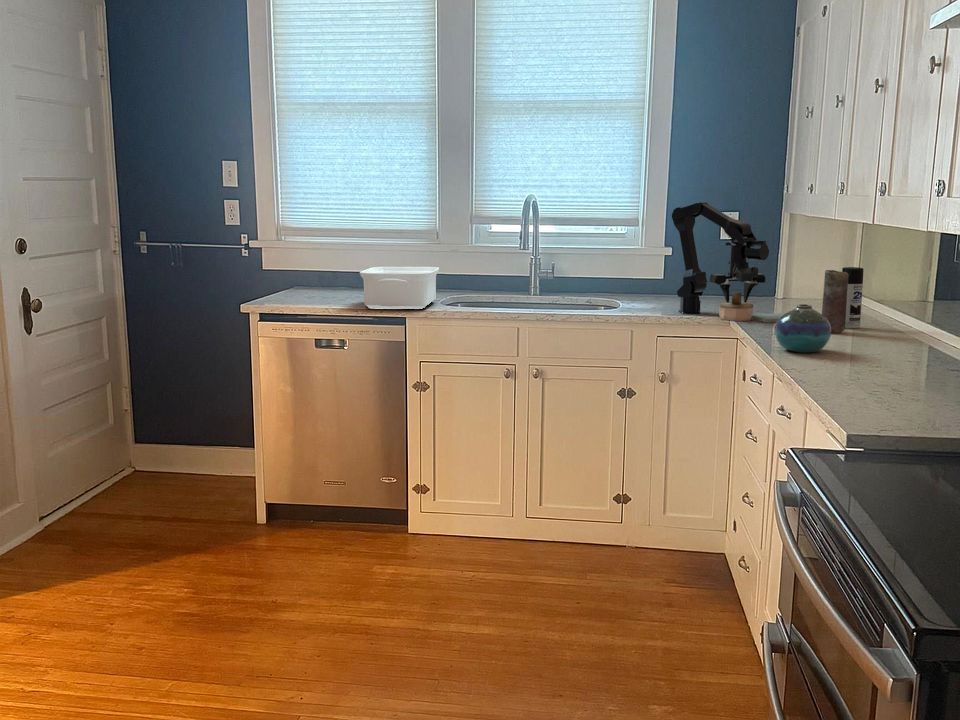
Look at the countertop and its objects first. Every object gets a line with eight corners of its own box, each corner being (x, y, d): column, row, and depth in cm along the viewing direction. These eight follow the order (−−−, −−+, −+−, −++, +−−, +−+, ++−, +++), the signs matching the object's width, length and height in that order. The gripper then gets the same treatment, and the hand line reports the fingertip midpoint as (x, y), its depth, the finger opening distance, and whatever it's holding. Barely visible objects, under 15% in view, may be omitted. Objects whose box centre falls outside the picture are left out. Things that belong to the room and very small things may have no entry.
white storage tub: (376, 300, 375) (375, 265, 372) (443, 301, 371) (442, 266, 368) (355, 312, 342) (354, 273, 339) (428, 312, 338) (427, 274, 335)
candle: (826, 329, 293) (831, 269, 289) (848, 332, 287) (853, 270, 284) (816, 332, 287) (820, 270, 283) (838, 335, 282) (843, 272, 278)
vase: (841, 354, 251) (845, 307, 249) (794, 357, 247) (798, 310, 244) (807, 344, 266) (810, 300, 263) (762, 347, 261) (765, 303, 259)
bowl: (727, 321, 312) (727, 308, 311) (715, 316, 322) (716, 304, 321) (756, 320, 313) (756, 307, 312) (743, 316, 323) (744, 304, 322)
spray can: (850, 329, 292) (854, 269, 288) (833, 327, 298) (837, 267, 294) (864, 328, 295) (868, 268, 291) (847, 325, 301) (851, 266, 297)
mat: (764, 322, 309) (764, 319, 309) (748, 316, 322) (749, 314, 321) (799, 321, 310) (800, 318, 310) (783, 316, 323) (783, 313, 323)
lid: (726, 308, 310) (727, 295, 309) (714, 304, 321) (715, 291, 321) (758, 308, 311) (759, 294, 311) (745, 303, 323) (745, 290, 322)
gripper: (721, 261, 304) (719, 306, 307) (773, 260, 306) (771, 305, 309) (709, 258, 315) (707, 302, 318) (760, 257, 317) (757, 300, 320)
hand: (736, 302), depth 316 cm, fingers open, 6 cm apart
